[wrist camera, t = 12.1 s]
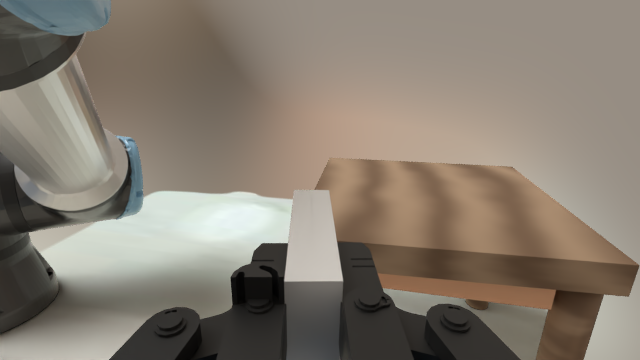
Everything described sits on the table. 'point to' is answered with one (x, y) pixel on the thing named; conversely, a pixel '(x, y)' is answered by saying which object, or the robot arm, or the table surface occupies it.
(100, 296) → the table surface
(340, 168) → the stool
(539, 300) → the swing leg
